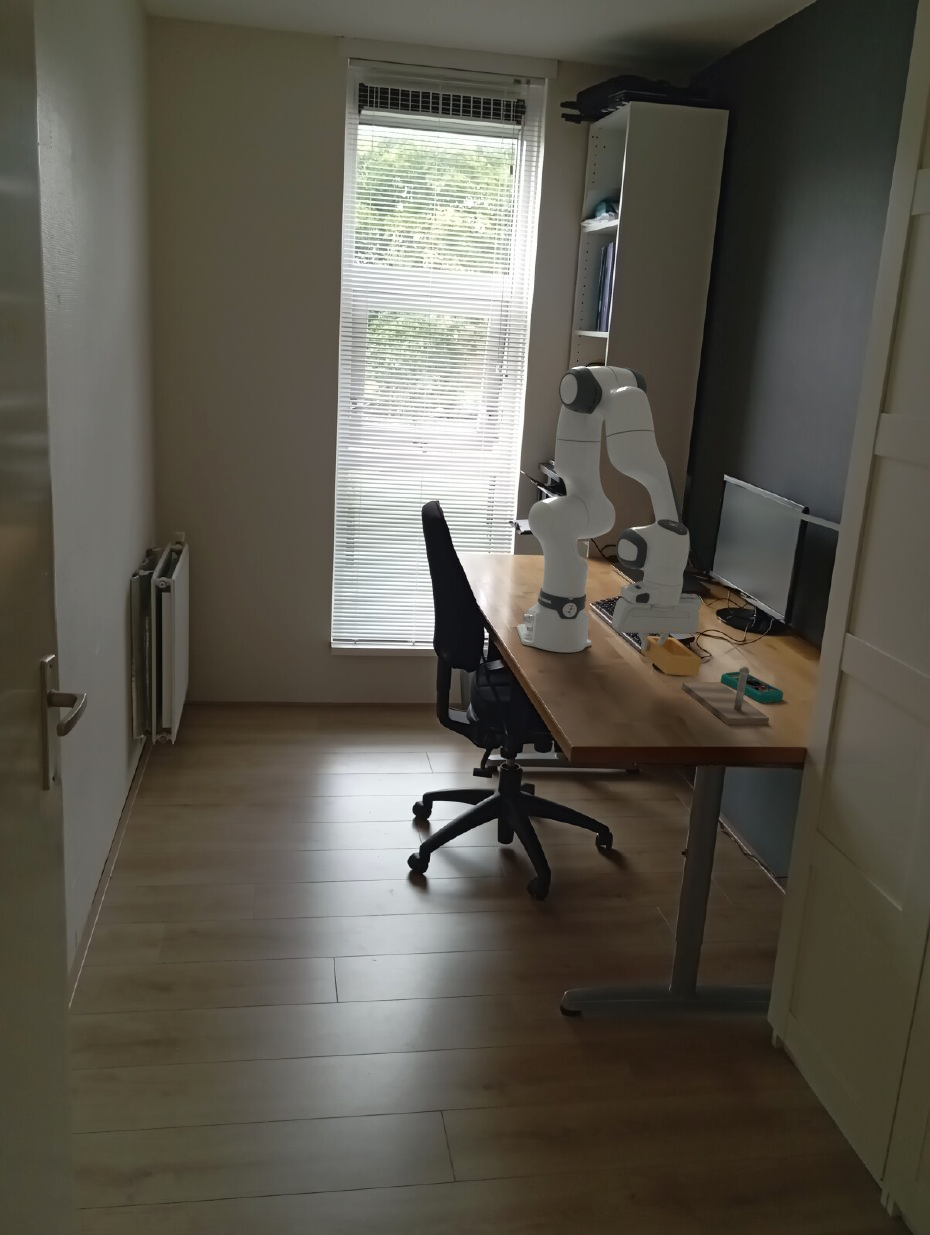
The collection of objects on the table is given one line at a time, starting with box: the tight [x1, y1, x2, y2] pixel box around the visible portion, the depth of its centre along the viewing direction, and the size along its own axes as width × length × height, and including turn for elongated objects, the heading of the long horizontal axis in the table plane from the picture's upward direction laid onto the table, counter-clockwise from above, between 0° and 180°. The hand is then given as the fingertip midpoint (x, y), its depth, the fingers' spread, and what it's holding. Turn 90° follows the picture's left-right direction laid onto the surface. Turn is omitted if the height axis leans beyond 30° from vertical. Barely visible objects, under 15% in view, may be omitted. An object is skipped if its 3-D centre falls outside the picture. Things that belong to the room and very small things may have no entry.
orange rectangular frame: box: [640, 635, 702, 677], centre depth 231 cm, size 14×8×4 cm, turn 15°
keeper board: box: [681, 665, 770, 726], centre depth 230 cm, size 22×10×12 cm, turn 15°
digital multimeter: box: [720, 671, 784, 703], centre depth 243 cm, size 7×15×3 cm, turn 26°
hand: (650, 650), depth 233 cm, fingers closed on orange rectangular frame
